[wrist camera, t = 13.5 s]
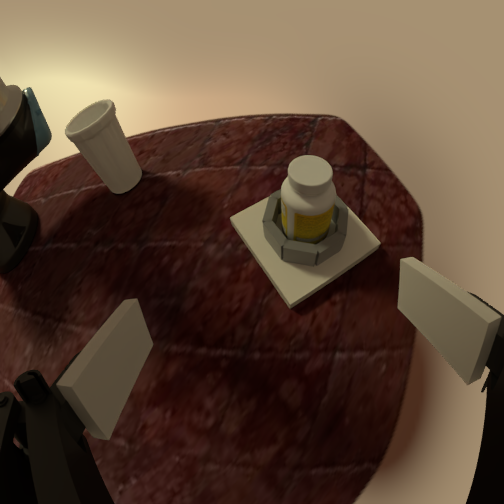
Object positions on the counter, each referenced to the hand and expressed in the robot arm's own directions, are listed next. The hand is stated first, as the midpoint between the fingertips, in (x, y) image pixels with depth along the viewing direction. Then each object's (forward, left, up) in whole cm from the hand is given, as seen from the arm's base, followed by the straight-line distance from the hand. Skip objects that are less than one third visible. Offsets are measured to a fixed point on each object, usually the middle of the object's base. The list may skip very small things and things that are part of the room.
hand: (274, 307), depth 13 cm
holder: (-10, +10, -16) cm, 22 cm away
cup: (-35, -7, -17) cm, 39 cm away
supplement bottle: (-10, +10, -15) cm, 21 cm away
